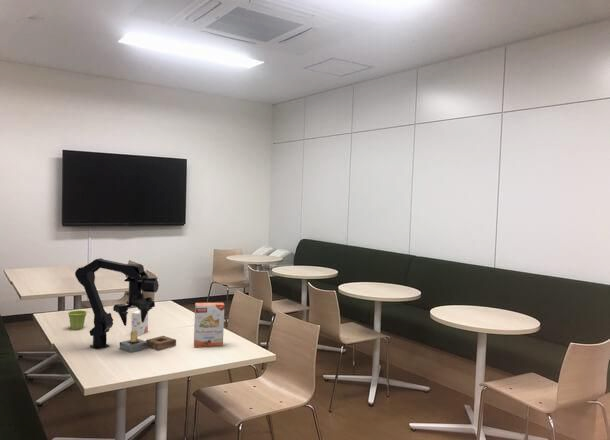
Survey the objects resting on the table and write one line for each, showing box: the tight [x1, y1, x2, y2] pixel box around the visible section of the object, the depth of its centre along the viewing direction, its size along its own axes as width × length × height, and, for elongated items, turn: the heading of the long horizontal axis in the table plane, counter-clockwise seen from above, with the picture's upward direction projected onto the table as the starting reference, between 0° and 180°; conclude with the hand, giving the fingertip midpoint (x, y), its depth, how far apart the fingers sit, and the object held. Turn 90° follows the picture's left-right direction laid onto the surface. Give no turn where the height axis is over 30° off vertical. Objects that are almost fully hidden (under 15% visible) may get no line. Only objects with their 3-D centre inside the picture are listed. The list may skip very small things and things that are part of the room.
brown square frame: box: [145, 335, 177, 351], centre depth 228 cm, size 10×10×3 cm
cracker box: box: [193, 302, 225, 348], centre depth 232 cm, size 14×6×21 cm, turn 105°
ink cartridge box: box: [130, 309, 149, 336], centre depth 248 cm, size 9×5×15 cm, turn 168°
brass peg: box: [130, 331, 138, 344], centre depth 223 cm, size 3×3×8 cm
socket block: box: [119, 338, 149, 354], centre depth 223 cm, size 9×9×3 cm
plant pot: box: [67, 310, 88, 331], centre depth 253 cm, size 9×9×9 cm
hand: (134, 323), depth 222 cm, fingers open, 9 cm apart
